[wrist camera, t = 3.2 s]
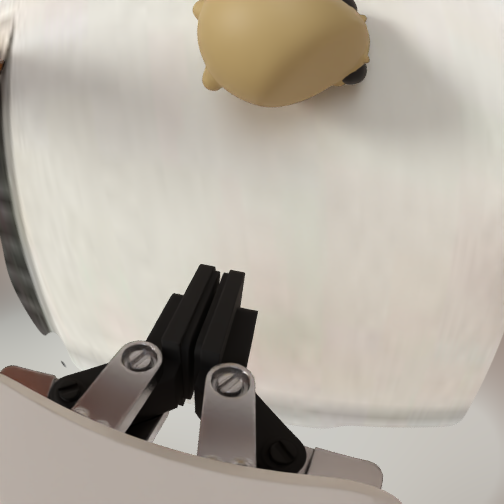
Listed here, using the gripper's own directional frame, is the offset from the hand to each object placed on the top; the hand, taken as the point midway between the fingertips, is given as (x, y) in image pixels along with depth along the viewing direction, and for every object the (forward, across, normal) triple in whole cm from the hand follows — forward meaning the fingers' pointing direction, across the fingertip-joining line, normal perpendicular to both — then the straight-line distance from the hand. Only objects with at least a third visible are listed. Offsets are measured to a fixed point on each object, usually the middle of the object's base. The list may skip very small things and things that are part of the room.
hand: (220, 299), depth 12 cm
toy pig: (+16, 0, -12) cm, 20 cm away
